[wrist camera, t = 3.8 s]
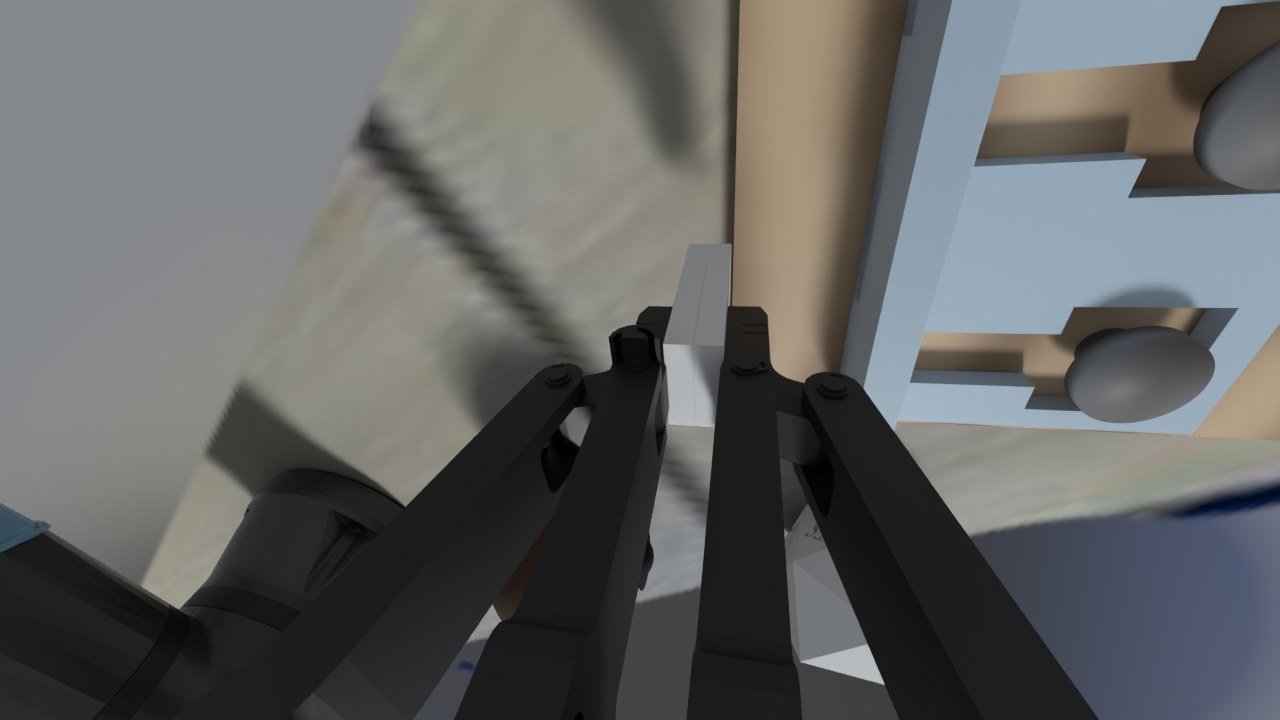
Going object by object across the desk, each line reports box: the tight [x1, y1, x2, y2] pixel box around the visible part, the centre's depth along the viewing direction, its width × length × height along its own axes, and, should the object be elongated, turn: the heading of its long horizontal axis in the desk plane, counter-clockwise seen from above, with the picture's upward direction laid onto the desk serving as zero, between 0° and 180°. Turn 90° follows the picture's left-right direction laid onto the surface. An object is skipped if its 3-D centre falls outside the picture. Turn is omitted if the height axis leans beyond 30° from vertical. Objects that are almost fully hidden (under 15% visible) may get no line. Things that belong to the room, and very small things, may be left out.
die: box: [785, 505, 885, 685], centre depth 27 cm, size 8×9×10 cm
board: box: [732, 0, 1280, 441], centre depth 17 cm, size 24×18×4 cm
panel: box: [839, 0, 1280, 435], centre depth 16 cm, size 14×16×4 cm
